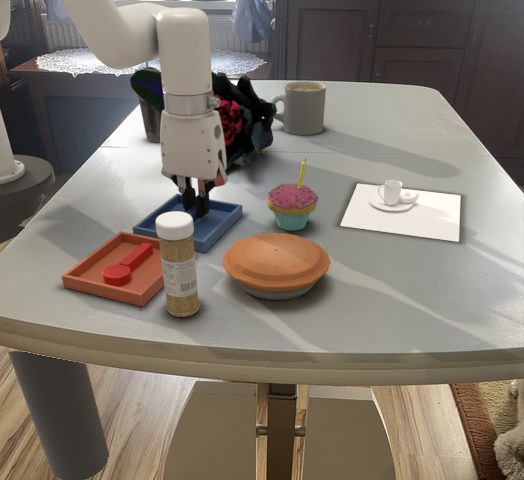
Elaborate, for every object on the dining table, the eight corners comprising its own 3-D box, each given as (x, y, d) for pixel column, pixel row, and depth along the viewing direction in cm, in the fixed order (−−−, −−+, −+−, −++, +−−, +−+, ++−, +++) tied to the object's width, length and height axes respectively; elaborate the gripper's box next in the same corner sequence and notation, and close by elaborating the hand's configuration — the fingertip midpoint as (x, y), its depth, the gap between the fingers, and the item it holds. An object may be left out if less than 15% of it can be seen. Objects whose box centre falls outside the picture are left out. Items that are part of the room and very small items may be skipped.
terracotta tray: (64, 287, 79) (61, 275, 78) (122, 241, 90) (120, 231, 89) (142, 306, 75) (141, 295, 74) (194, 256, 86) (193, 245, 85)
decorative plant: (270, 195, 128) (205, 209, 103) (187, 132, 132) (104, 131, 106) (317, 112, 118) (258, 106, 92) (225, 47, 121) (144, 23, 96)
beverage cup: (177, 136, 133) (169, 42, 120) (164, 145, 127) (154, 49, 115) (149, 133, 134) (139, 40, 122) (135, 142, 129) (123, 46, 116)
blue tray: (133, 238, 91) (132, 227, 90) (177, 203, 102) (177, 193, 101) (204, 252, 87) (204, 242, 86) (242, 214, 98) (242, 204, 97)
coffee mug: (322, 123, 141) (325, 81, 135) (323, 135, 134) (326, 91, 127) (271, 121, 142) (271, 80, 136) (268, 134, 134) (268, 90, 128)
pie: (320, 253, 87) (323, 224, 84) (335, 308, 75) (338, 277, 72) (224, 255, 87) (222, 226, 84) (222, 310, 75) (221, 279, 72)
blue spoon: (195, 206, 99) (194, 197, 98) (215, 209, 98) (214, 201, 97) (165, 232, 91) (164, 224, 90) (186, 236, 90) (185, 228, 89)
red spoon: (138, 249, 87) (136, 240, 86) (160, 254, 86) (159, 245, 85) (98, 283, 79) (96, 273, 78) (122, 288, 78) (120, 279, 77)
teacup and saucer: (418, 199, 104) (422, 178, 102) (414, 216, 98) (419, 194, 96) (372, 193, 106) (374, 172, 104) (366, 210, 100) (368, 188, 98)
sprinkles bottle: (194, 297, 77) (187, 207, 69) (204, 314, 74) (197, 222, 66) (162, 303, 76) (151, 213, 68) (170, 321, 73) (159, 228, 64)
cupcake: (320, 218, 97) (325, 150, 90) (308, 239, 91) (313, 168, 84) (274, 212, 100) (275, 145, 92) (259, 232, 93) (260, 162, 86)
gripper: (245, 101, 85) (246, 213, 96) (156, 91, 89) (168, 199, 101) (224, 114, 79) (228, 231, 91) (131, 103, 84) (146, 215, 95)
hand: (197, 213), depth 96 cm, fingers closed on blue spoon, 1 cm apart
